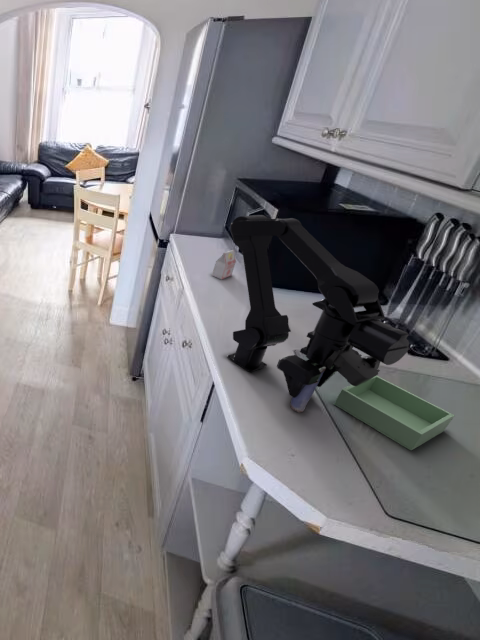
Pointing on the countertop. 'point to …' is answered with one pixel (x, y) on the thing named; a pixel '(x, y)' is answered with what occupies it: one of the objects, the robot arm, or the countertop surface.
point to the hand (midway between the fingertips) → (305, 390)
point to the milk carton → (224, 265)
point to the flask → (304, 395)
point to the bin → (394, 411)
